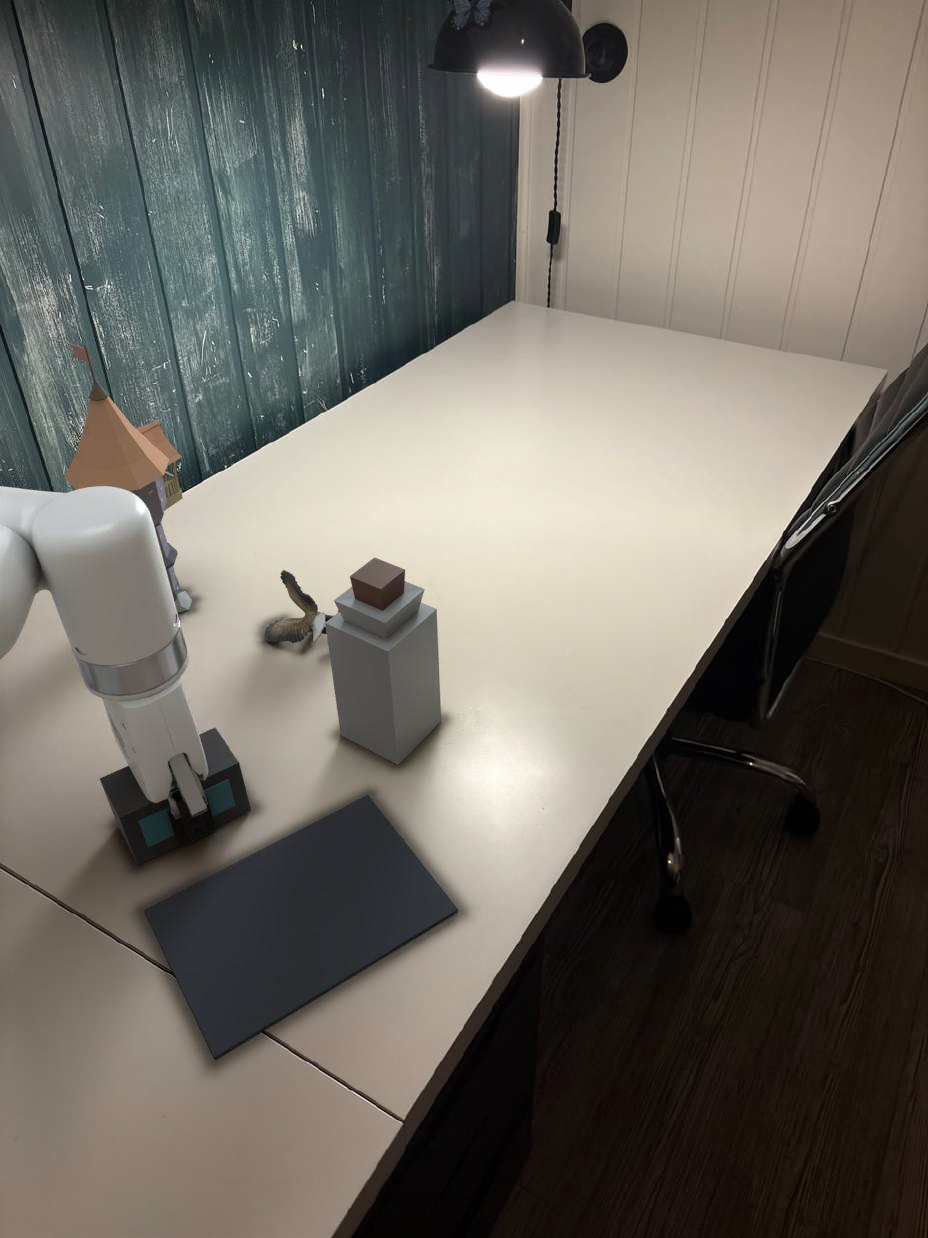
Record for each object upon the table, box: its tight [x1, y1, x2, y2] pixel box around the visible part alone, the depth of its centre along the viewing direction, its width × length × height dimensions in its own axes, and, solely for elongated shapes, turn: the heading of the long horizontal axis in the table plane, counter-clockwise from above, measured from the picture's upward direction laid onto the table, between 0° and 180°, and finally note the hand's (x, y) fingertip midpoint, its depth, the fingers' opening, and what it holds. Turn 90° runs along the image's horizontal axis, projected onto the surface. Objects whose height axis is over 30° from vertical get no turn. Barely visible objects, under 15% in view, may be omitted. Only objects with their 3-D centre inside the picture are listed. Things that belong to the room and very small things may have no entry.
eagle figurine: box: [264, 569, 339, 644], centre depth 96 cm, size 8×7×9 cm
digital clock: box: [99, 727, 251, 866], centre depth 77 cm, size 10×5×6 cm, turn 124°
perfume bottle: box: [325, 557, 442, 766], centre depth 81 cm, size 7×7×18 cm
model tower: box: [64, 342, 193, 614], centre depth 93 cm, size 10×11×30 cm
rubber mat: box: [143, 794, 459, 1060], centre depth 71 cm, size 20×14×1 cm
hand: (183, 811), depth 78 cm, fingers closed on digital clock, 5 cm apart
